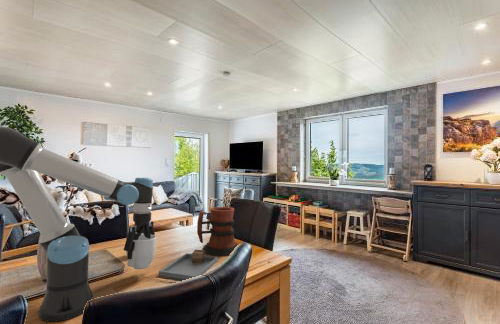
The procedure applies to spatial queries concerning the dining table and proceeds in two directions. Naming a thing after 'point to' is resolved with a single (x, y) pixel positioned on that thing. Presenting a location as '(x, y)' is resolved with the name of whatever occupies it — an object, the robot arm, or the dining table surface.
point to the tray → (187, 268)
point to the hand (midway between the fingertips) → (139, 261)
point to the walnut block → (198, 256)
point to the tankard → (218, 231)
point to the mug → (144, 251)
